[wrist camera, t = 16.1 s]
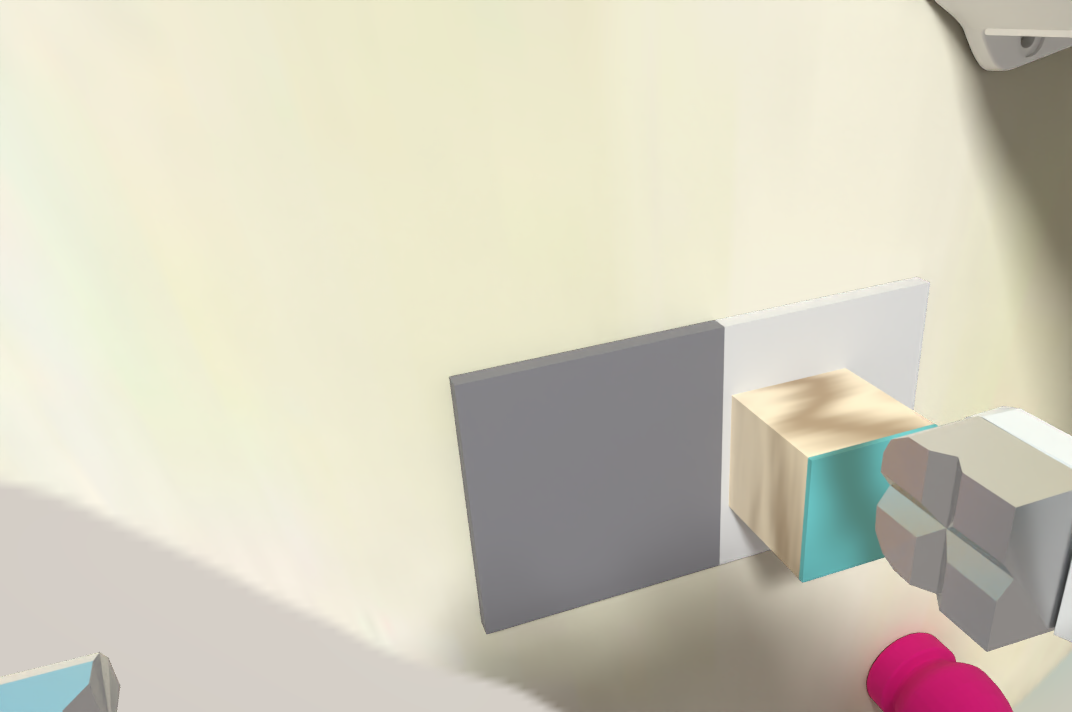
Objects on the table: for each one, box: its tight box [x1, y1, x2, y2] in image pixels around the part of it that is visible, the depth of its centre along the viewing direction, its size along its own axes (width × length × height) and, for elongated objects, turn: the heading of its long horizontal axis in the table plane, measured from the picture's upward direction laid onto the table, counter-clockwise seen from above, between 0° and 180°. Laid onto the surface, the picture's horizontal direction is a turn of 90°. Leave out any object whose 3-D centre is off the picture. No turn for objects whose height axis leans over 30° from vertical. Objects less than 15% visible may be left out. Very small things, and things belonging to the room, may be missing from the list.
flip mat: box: [449, 277, 930, 634], centre depth 46 cm, size 26×15×1 cm, turn 95°
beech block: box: [729, 368, 938, 583], centre depth 44 cm, size 7×7×7 cm
